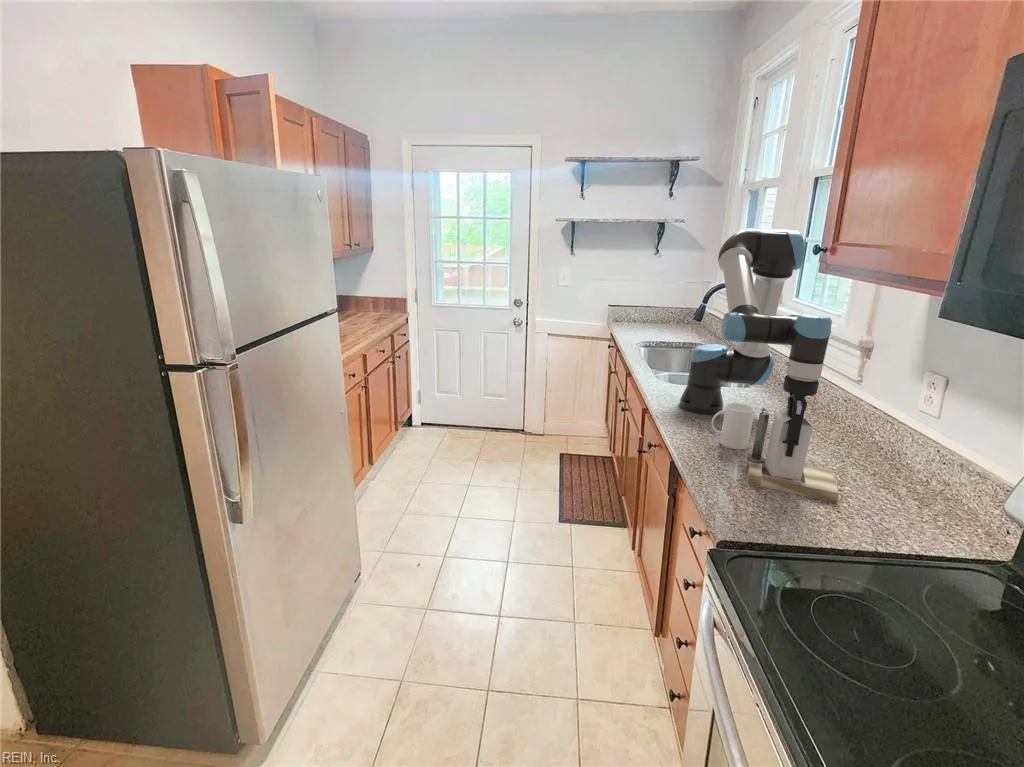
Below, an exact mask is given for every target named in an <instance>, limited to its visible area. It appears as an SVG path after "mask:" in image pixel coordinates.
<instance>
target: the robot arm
mask: <svg viewBox="0 0 1024 767" xmlns="http://www.w3.org/2000/svg"><path fill="white" fill-rule="evenodd" d="M717 257H718V258H717V259H718V260H717V261H718V267H719V269H720V271H722V273H723V279H724V280H723V281H724V287H725V293H726V303H727V309H728V312H727V313H725V314H724V316H723V318H722V322H721V337H722V338H723V339H724V340H726V341H730V342H731V341H732V342H736V343H735V345H734V349H733V350H732V349H728V347H727V346H726V345H724V344H717V343H709V344H708V343H707V344H701V345H697V346H695V347H694V348H693V349H692V351H691V356H690V359H689V360H690V363H689V369H688V370H689V371H688V378H687V383H686V384H687V385H686V386H685V388H684V390H683V392H682V395H681V397H680V399H679V406H680V407H681V408H682V409H684V410H686V411H689V412H693V413H695V414H696V413H697V414H702V415H715V414H716V413H718V412H719V411H722V410H724V399H723V395H722V384H723V383H727V384H728V383H729V384H739V385H740V384H741V385H749V386H762V385H764V384H765V383H767V382H768V381H769V379H770V378H771V377H772V376H771V375H772V374H773V370H774V364H775V357H774V354H772V353H771V352H772V350H771V349H770V347H769V345H781V346H782V345H783V346H790V351H789V356H788V361H785V363H784V365H785V366H786V367H787V368H786V374H787V375H785V376H784V381H783V386H782V389H783V391H784V392H787V393H788V394H789V396H788V398H787V405H786V407H787V408H788V409H789V410H788V416H789V417H790V418H791V419H790V420H789V426H788V431H787V437H786V440H785V441H782V443H784V447H783V452H782V457H781V461H780V466H781V467H786V468H791V469H792V465H793V460H794V456H795V451H796V446H798V444H799V437H800V431H801V426H802V421H803V417H804V418H805V411H806V410H807V406H808V405H807V404H808V402H807V399H806V397H813V396H816V395H817V393H818V389H819V384H820V381H819V379H821V376H822V374H823V373H822V372H823V367H824V361H825V357H826V352H827V349H828V343H829V341H830V336H831V334H832V325H833V324H832V323H833V321H832V318H831V317H829V316H827V315H822V314H814V313H801V314H800V315H798V314H789V315H777V312H778V308H779V304H780V300H781V297H782V292H783V289H784V286H785V282H786V281H787V280H788V279H790V278H791V277H792V276H793V273H794V270H795V271H797V270H799V269H801V268H802V266H803V264H804V263H803V262H804V260H805V259H804V258H805V240H804V236H803V234H802V233H801V232H800V231H798V230H789V229H766V228H765V229H760V228H759V229H758V228H757V229H756V228H747V229H743V230H740V231H738V232H736V233H733V235H731V236H730V237H728V239H726V241H725V242H724V243H723V244H722V246H721V248H720V250H719V252H718V256H717ZM751 268H752V269H751ZM753 275H754V276H755V280H754V279H753ZM791 413H792V414H791Z"/></svg>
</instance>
